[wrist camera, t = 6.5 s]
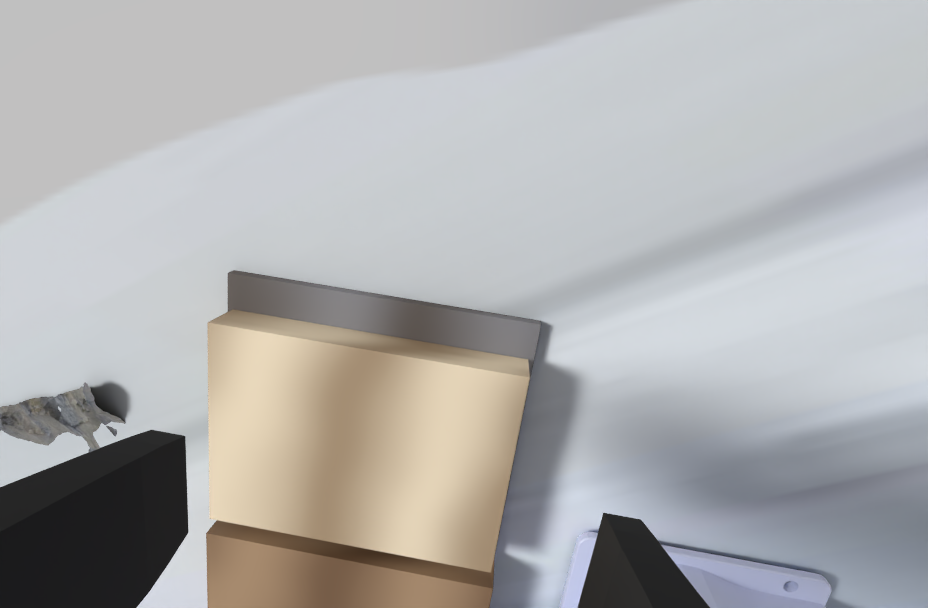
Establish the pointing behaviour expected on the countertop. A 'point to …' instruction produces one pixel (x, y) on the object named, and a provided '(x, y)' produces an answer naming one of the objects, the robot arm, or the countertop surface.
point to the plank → (361, 437)
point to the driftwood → (56, 418)
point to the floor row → (332, 564)
